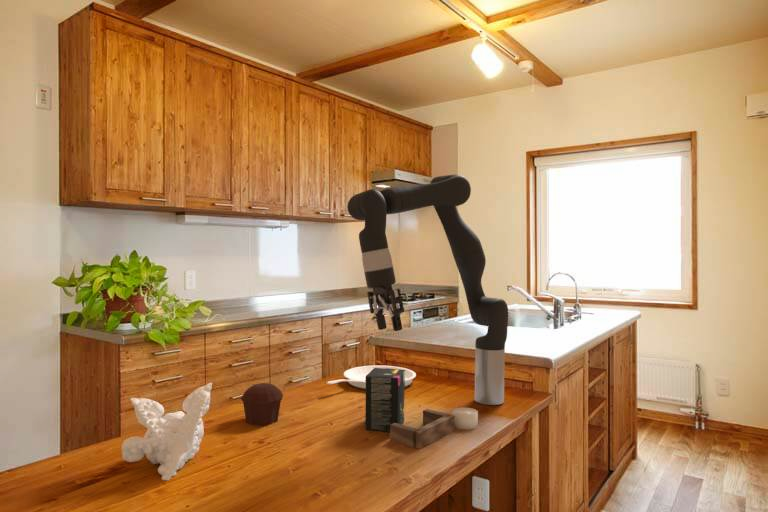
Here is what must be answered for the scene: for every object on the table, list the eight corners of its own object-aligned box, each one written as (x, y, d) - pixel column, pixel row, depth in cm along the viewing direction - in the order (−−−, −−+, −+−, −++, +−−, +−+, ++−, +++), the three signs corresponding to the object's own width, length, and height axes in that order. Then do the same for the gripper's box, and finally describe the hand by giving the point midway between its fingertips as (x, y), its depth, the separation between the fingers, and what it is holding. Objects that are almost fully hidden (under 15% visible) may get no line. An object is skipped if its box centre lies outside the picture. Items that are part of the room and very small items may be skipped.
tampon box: (398, 433, 137) (399, 377, 137) (364, 430, 139) (365, 375, 138) (405, 420, 148) (405, 368, 147) (373, 417, 149) (374, 366, 149)
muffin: (269, 411, 154) (270, 377, 154) (291, 420, 146) (291, 384, 146) (233, 420, 146) (233, 384, 145) (253, 430, 138) (253, 392, 138)
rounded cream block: (460, 419, 149) (460, 405, 149) (482, 425, 144) (482, 410, 144) (447, 426, 143) (447, 411, 143) (470, 431, 139) (470, 417, 139)
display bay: (426, 423, 145) (426, 408, 145) (454, 430, 139) (455, 415, 139) (390, 440, 131) (390, 424, 131) (419, 449, 126) (419, 432, 126)
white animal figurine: (209, 400, 133) (212, 374, 117) (216, 482, 124) (220, 466, 108) (128, 412, 126) (119, 386, 110) (128, 500, 117) (119, 486, 101)
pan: (430, 382, 190) (430, 369, 190) (356, 405, 161) (356, 390, 161) (377, 371, 208) (377, 359, 207) (301, 389, 179) (301, 375, 179)
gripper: (404, 263, 129) (416, 327, 129) (378, 267, 142) (389, 325, 142) (378, 268, 126) (390, 334, 126) (353, 272, 138) (365, 332, 138)
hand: (390, 329), depth 134 cm, fingers open, 8 cm apart
